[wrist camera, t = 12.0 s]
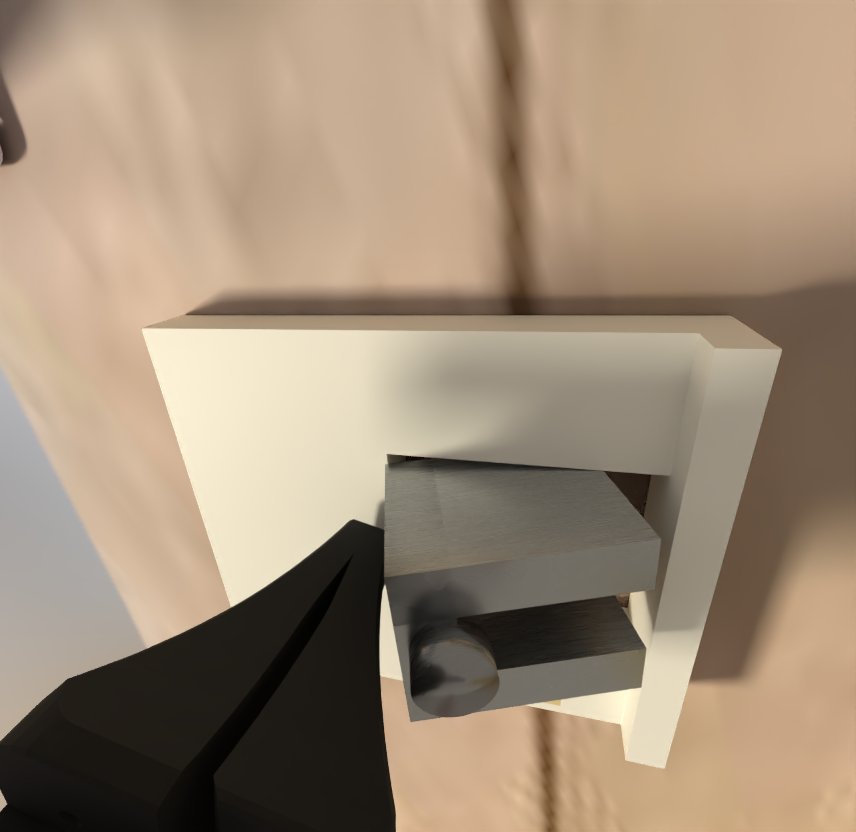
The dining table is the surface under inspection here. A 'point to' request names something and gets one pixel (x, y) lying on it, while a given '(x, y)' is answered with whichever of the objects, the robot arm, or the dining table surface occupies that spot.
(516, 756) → the dining table surface
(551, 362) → the frame
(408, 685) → the clip
